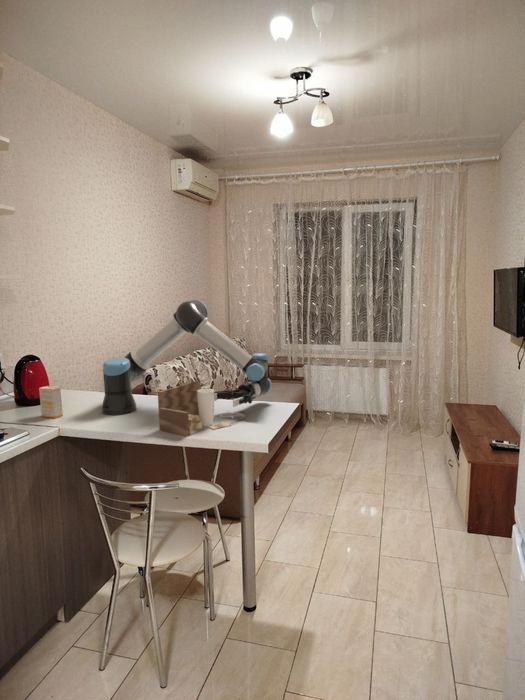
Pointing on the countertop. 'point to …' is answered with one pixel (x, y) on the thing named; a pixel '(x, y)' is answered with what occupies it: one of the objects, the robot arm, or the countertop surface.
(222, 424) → the offcut flat
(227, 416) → the coaster
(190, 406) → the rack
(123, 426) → the countertop surface
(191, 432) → the offcut lower
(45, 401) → the supplement box
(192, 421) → the offcut upper
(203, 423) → the drinking glass
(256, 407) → the countertop surface
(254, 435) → the countertop surface
